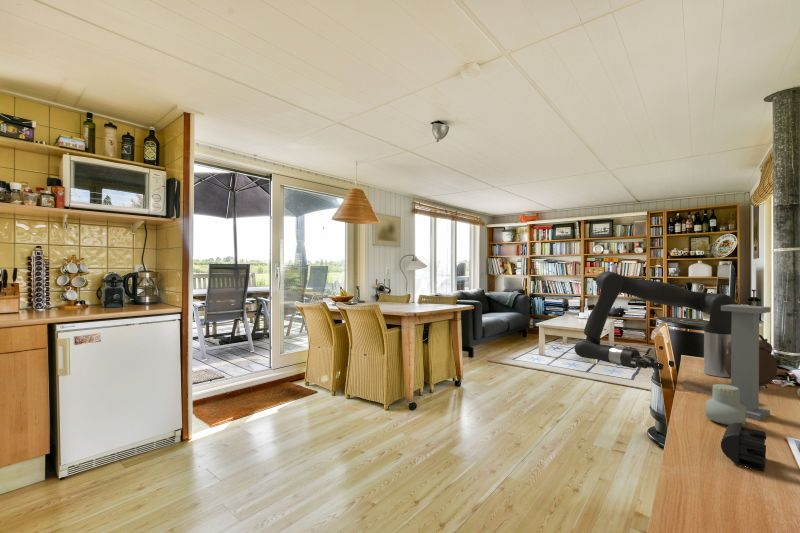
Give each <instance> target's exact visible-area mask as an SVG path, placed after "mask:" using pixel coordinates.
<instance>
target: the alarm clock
mask: <svg viewBox="0 0 800 533" xmlns="http://www.w3.org/2000/svg"><path fill="white" fill-rule="evenodd" d="M727 349H728V354H727V355H726V358H725V369H726V371H727V373H728V374H729V375H730V376H731V341H730V342H729V343H728V344H727ZM773 349H774V348H773V345H772V344H771V343H770V342H768V338H764V337H763V335H762V334H760V333H759V388H761V387H765V389H768V388H769V387H768V386H767V385H769V384H771V383H772V382H773V381H774V379H775V377H776V376H777V373H778V363H777V360H776V358H775V357H774V356H773V354H772V353H773Z"/></svg>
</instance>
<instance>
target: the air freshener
mask: <svg viewBox="0 0 800 533" xmlns="http://www.w3.org/2000/svg"><path fill="white" fill-rule="evenodd" d="M730 385H731V384H723V383H715V384H713V396H711V397H712V398H708V399H707V400H706V403H705V416H706V417H707V418H708V419H710V420H712V421H713V422H715V423H718V424H720V425H721V424H722V425H724V426H725V425H726V426H729V425H730V424H733V423H743V426H745V425H746V424H747V418H746V407H745V406H744V405H742V404H740V389H738V388H737V387H734V386H730Z"/></svg>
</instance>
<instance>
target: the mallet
mask: <svg viewBox="0 0 800 533" xmlns="http://www.w3.org/2000/svg"><path fill="white" fill-rule="evenodd" d="M682 384H683V386H682V387H683V388H682V390H685V391H688V392H689V391H690V392H694V393H698V394H701V393H702V395H705V394H706V396H710V397H713V385H714V384H713V385H712V384H709V383H704V382H699V381H694V380H689V379H686V380H683V383H682ZM729 385H730V386H731V384H729Z"/></svg>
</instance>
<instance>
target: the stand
mask: <svg viewBox="0 0 800 533" xmlns="http://www.w3.org/2000/svg"><path fill="white" fill-rule="evenodd" d="M771 310H772V309H771V306H760V305H758V306H757V305H745V304H744V305H743V304H736V305H733V304H732V305H722V306H721V311H732V325H731V377H730V385H731V386H734V387H737V388H738V389H740V404H742V405H744V406H745V407H746V419H749V420H753V421H754V420H755V421H759V422H760V421H762V420H763V419H765V418H767V417H768V416H770V415H771V409H767V408H763V407H760V406H759V405H760V404H759V403H760V400H759V398H760V397H759V396H760V395H759V394H760V393H759V392H760V387H759V340H760V337H759V334H760V314H767V313H771Z"/></svg>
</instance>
